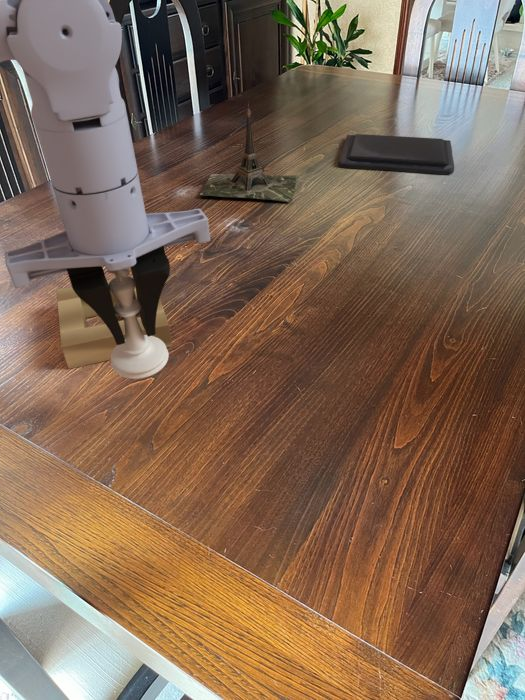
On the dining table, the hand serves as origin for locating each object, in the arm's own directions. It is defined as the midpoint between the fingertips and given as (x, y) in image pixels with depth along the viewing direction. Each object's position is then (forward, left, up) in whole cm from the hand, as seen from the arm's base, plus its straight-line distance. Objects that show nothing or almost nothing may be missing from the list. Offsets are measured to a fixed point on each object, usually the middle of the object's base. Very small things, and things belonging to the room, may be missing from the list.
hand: (133, 333), depth 46 cm
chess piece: (0, 0, -3) cm, 3 cm away
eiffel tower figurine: (-11, +50, -10) cm, 52 cm away
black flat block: (+9, +72, -10) cm, 74 cm away
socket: (-11, +10, -10) cm, 18 cm away
